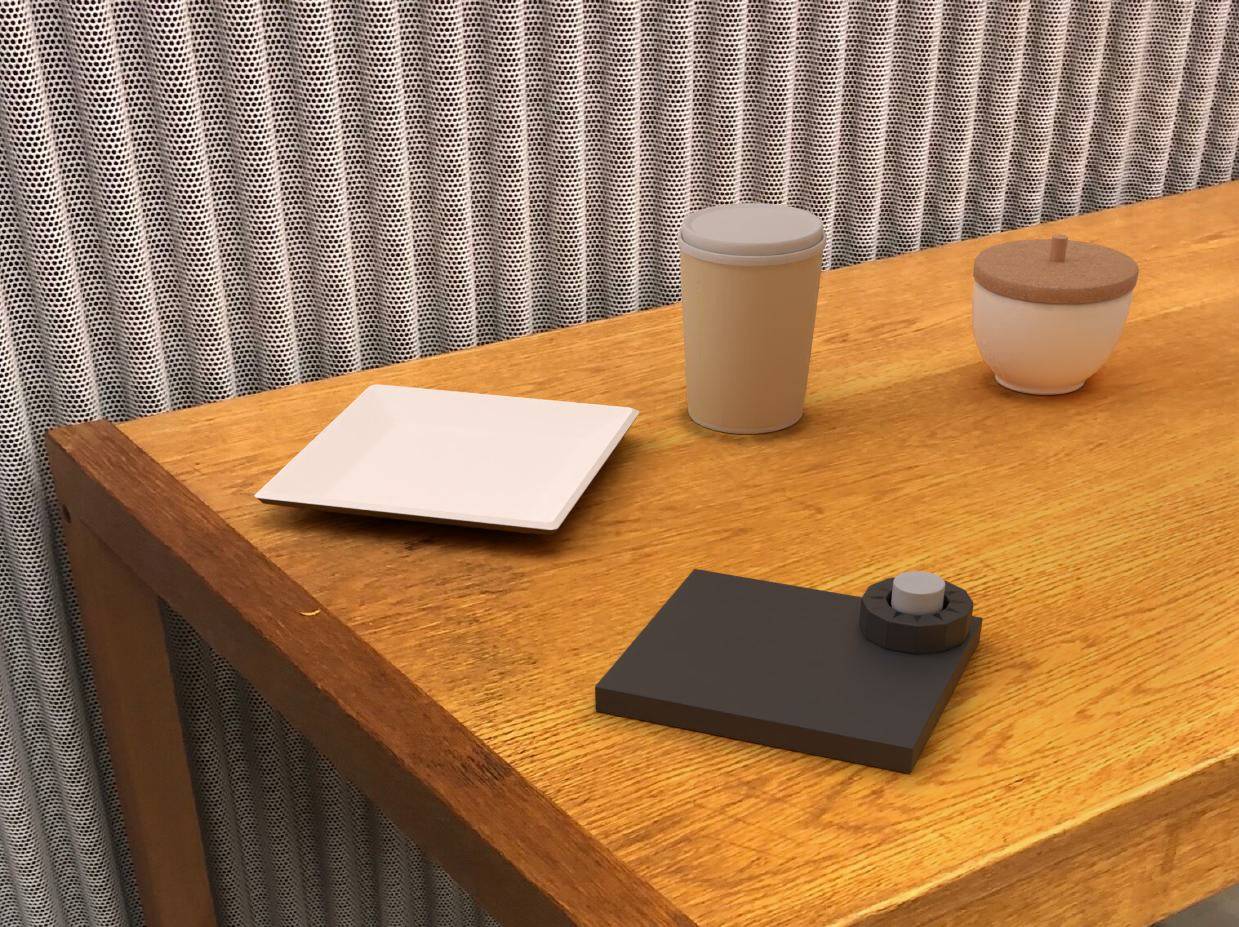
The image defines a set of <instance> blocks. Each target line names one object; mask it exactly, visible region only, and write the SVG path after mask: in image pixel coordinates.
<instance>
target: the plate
mask: <svg viewBox="0 0 1239 927" xmlns="http://www.w3.org/2000/svg"><path fill="white" fill-rule="evenodd" d="M640 414H641V411H639V410H638V409H636V408H633V407H631V406H630V407H629V406H618V405H609V404H607V405H606V404H597V403H586V402H575V401H564V400H552V399H541V398H533V397H532V398H531V397H521V396H510V395H509V396H508V395H500V394H499V395H498V394H490V393H489V394H487V393H477V392H466V391H455V390H444V389H434V388H422V387H411V386H401V385H400V386H399V385H391V384H378V383H376V384H371V385H369V386H368V387H367V388H366V389H365V390H364V391H363V392H362V393H360V394H359V395H358V396H357V397H356V398H355V400H353V401H352V402H351V403H350V404H349V405H348V406H347V407H346V408H345V409H344V410H343V411H342V412H341V413H339V414H338V415H337V416H336V417H335V418H334V419H333V420H332V421H331V422H330V423H329V424H328V425H327V426H326V427H325V428H323V430H322V431H320V432H319V433H318V434H317V435H316V436H315V437H314V438H313V439H312V440H311V441H310V442H309V443H307V445H306V446H304V447H303V448H302V450H301V451H299V452H298V453H297V454H296V455H295V456H294V457H293V458H292V459H291V460H290V461H289V462H288V463H286V464H285V466H284V467H282V468H281V469H280V470H279V471H278V472H277V473H276V474H275V475H274V476H273V477H272V478H271V479H270V480H269V481H268V482H267V483H265V485H263V487H261V488H260V489H259V490H258V491H257V492H256V493H255V494H254V495H253V496H254V497H255V498H256V499H257V500H258V501H259V502H260V503H262V504H265V505H271V506H280V507H286V508H295V509H301V510H311V511H316V512H326V513H334V514H343V515H344V514H345V515H353V516H363V517H373V518H380V519H391V520H399V521H407V522H418V523H427V524H436V525H444V526H445V525H446V526H453V527H454V526H455V527H462V528H463V527H464V528H472V529H482V530H489V531H500V532H510V533H518V534H533V535H545V536H546V535H553V534H556V533H557V531H559V528H560V527H561V525H562V524H563V523H564V522H565V520H566V519H567V518H568V516H569V515H570V513H571V512H572V510H573V509H574V508H575V506H576V504H577V503H578V502H579V500H580V499H581V497H582V496H583V495H584V493H585V492H586V491H587V489H588V487H589V486H590V485H591V483H592V482H593V480H594V479H595V478H596V476H598V473H599V472H600V470H601V469H602V468H603V466H604V465H605V463H606V462H607V460H608V459H609V458H610V457H611V455H612V454H613V452H614V451H615V449H616V448H617V447H618V445H619V443H620V442H621V441H622V439H623V438H624V437H625V435H626V434H627V432H628V431H629V430H630V428H631V427H632V425H633V424H634V422H635V421H636V420H637V418H638V417H639V415H640Z"/></svg>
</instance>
